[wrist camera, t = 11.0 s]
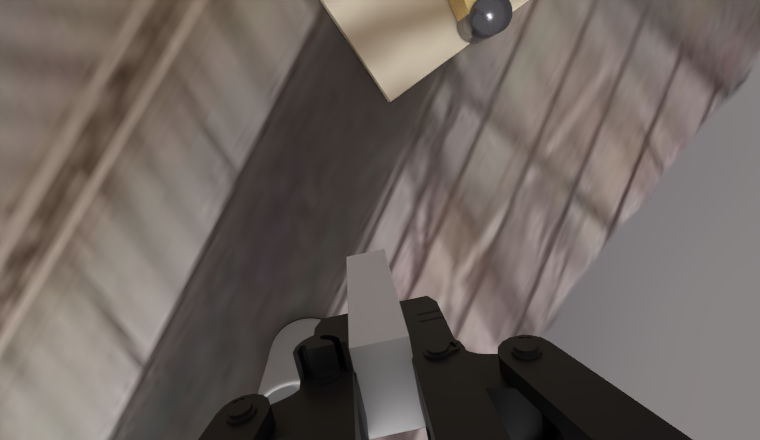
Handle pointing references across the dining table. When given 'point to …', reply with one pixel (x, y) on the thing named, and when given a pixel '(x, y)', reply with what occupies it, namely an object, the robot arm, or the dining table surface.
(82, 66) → the dining table surface
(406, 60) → the post board
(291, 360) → the mug
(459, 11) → the collar
